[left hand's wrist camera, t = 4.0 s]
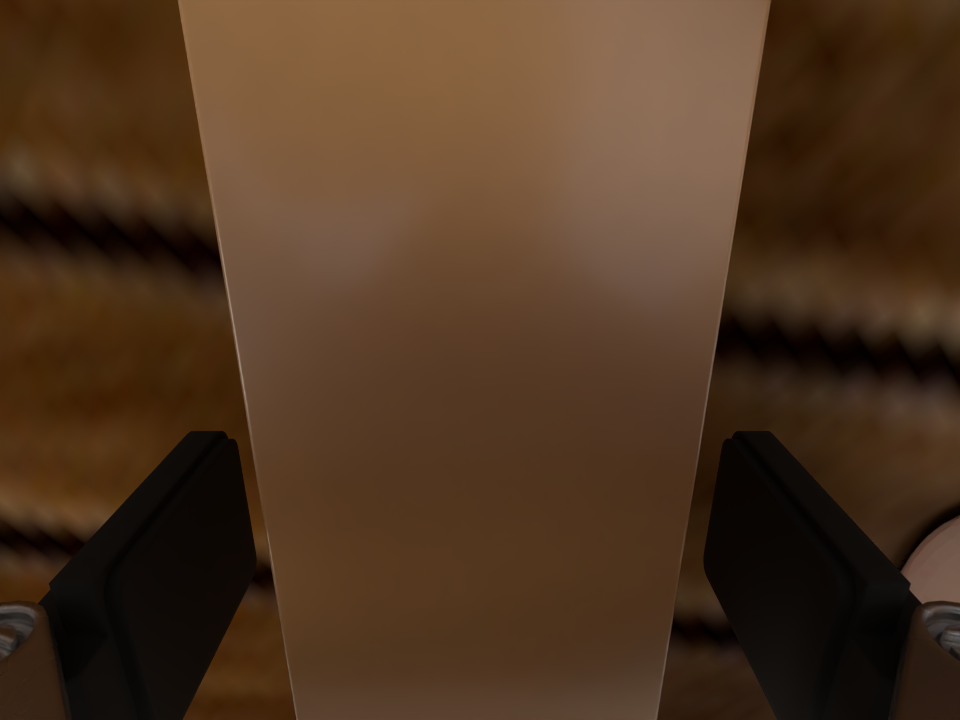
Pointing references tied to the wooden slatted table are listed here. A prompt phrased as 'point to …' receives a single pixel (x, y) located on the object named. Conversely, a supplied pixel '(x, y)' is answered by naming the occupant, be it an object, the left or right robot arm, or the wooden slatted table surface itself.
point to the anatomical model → (936, 565)
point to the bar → (475, 330)
